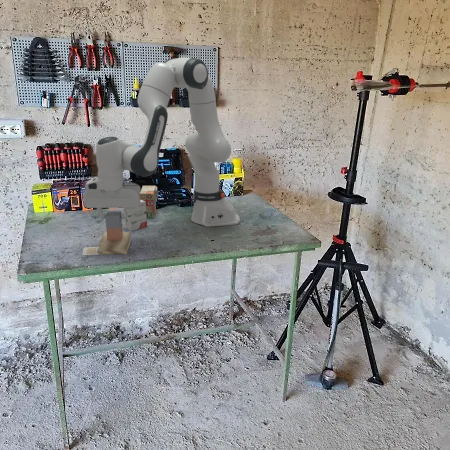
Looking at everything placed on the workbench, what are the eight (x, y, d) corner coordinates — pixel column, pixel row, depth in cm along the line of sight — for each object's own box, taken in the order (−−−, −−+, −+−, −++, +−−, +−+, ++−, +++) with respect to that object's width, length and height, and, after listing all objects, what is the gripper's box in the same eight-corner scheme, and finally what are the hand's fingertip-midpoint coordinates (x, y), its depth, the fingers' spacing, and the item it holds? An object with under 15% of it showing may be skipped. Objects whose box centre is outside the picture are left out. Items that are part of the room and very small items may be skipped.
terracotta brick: (122, 235, 161) (122, 223, 160) (120, 240, 157) (120, 228, 155) (109, 235, 161) (109, 223, 159) (107, 240, 156) (106, 228, 155)
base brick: (131, 241, 166) (130, 232, 165) (126, 254, 155) (126, 244, 154) (105, 241, 166) (104, 231, 164) (99, 253, 154) (98, 244, 153)
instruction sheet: (108, 246, 161) (108, 246, 161) (107, 254, 155) (107, 253, 155) (84, 247, 159) (84, 247, 159) (82, 255, 153) (82, 255, 153)
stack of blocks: (145, 203, 211) (144, 180, 206) (158, 203, 211) (157, 180, 207) (140, 218, 191) (139, 193, 186) (154, 218, 191) (153, 193, 187)
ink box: (141, 223, 185) (139, 198, 180) (147, 226, 182) (146, 201, 177) (124, 228, 179) (122, 202, 175) (130, 231, 176) (128, 205, 172)
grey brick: (121, 223, 160) (121, 211, 158) (119, 228, 155) (119, 215, 153) (108, 223, 159) (107, 211, 157) (106, 228, 155) (105, 215, 153)
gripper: (140, 180, 155) (142, 215, 160) (84, 180, 153) (88, 215, 158) (138, 185, 149) (140, 221, 154) (80, 184, 147) (84, 221, 152)
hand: (113, 218), depth 156 cm, fingers open, 6 cm apart
